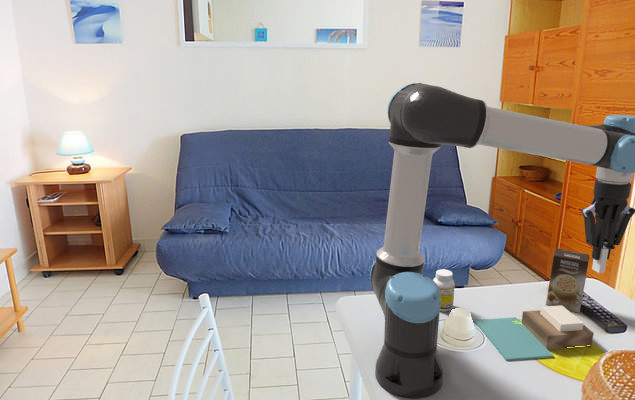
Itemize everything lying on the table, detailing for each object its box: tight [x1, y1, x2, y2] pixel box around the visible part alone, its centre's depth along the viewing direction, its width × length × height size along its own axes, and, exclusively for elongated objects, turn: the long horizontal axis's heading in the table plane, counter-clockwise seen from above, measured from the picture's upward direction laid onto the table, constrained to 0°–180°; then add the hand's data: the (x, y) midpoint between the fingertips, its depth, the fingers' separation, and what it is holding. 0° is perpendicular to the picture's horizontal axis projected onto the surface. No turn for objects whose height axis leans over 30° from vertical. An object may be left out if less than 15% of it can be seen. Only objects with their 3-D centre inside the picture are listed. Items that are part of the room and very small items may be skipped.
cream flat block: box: [540, 305, 584, 332], centre depth 123 cm, size 6×9×2 cm, turn 6°
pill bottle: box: [432, 268, 456, 312], centre depth 137 cm, size 6×6×11 cm
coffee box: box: [545, 248, 590, 314], centre depth 137 cm, size 9×6×16 cm
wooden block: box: [521, 309, 595, 351], centre depth 124 cm, size 12×12×4 cm
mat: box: [474, 317, 554, 362], centre depth 123 cm, size 12×18×1 cm, turn 6°
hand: (598, 270), depth 120 cm, fingers closed
